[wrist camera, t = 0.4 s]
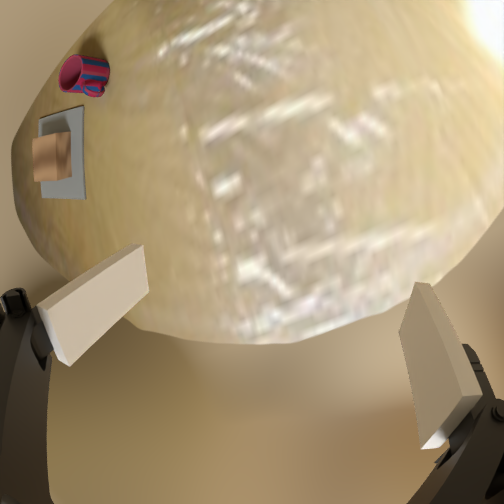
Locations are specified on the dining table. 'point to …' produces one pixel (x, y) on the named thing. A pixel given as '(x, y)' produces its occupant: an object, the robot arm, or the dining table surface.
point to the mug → (84, 75)
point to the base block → (52, 157)
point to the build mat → (75, 125)
